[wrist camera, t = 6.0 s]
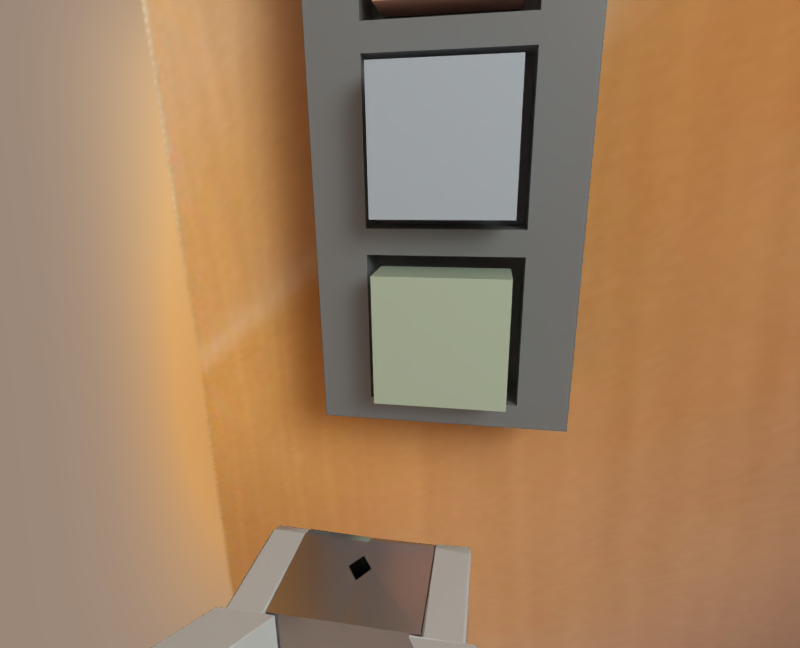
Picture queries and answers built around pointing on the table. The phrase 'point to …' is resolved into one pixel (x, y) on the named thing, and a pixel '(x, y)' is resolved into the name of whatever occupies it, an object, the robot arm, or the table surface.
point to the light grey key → (444, 136)
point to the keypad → (457, 239)
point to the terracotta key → (442, 6)
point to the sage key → (441, 336)
